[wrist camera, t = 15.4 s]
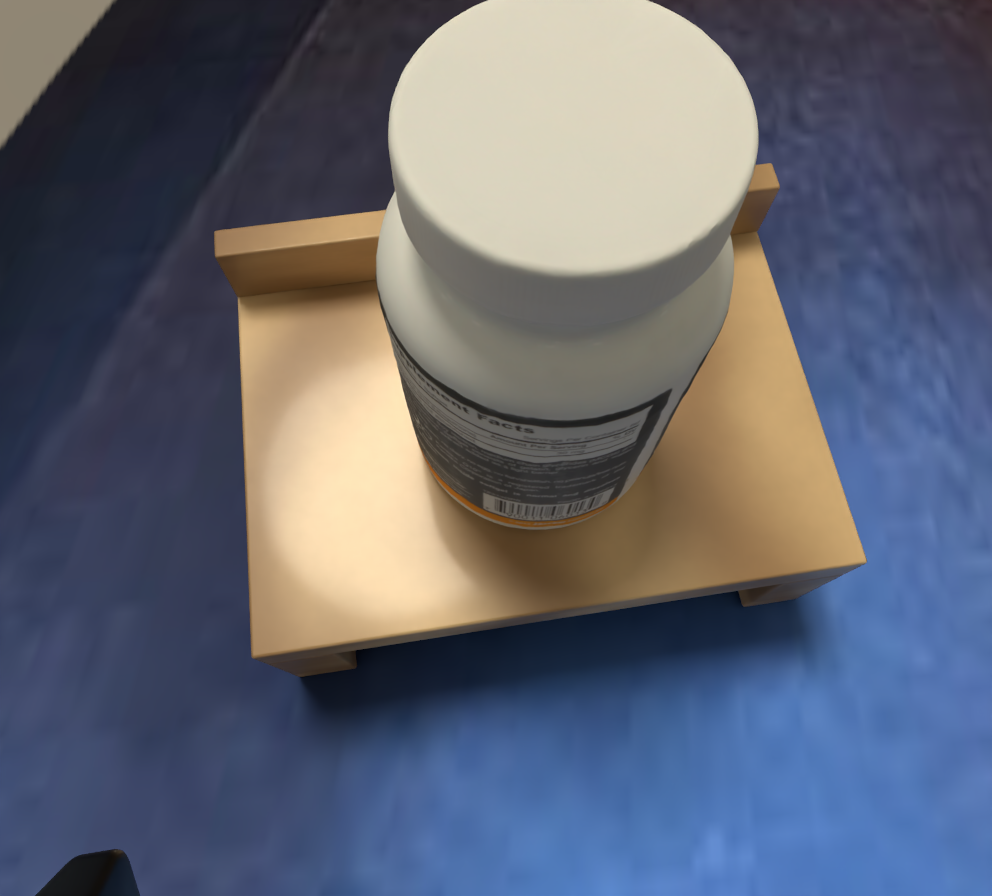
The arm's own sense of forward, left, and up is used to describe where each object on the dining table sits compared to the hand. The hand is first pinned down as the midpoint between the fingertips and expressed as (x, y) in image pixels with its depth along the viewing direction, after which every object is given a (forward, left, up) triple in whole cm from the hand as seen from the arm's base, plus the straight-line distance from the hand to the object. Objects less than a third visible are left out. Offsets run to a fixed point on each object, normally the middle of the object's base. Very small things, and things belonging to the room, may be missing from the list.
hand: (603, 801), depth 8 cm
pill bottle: (0, -8, -9) cm, 12 cm away
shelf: (+1, -8, -14) cm, 16 cm away
